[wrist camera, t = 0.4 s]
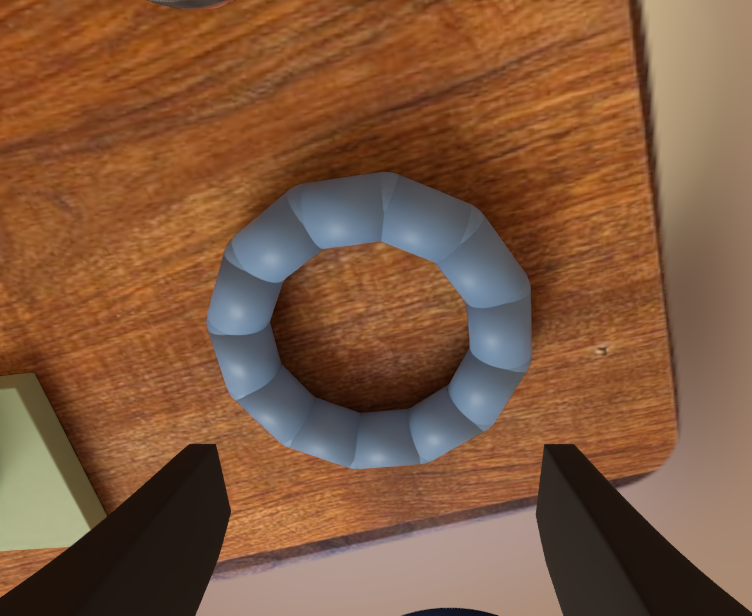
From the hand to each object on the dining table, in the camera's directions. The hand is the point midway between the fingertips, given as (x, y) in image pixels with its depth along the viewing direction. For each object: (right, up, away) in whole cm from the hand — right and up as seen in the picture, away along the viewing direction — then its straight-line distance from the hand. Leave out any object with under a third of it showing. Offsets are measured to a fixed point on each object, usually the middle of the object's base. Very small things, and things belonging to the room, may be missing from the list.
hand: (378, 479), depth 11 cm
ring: (0, +3, +7) cm, 8 cm away
